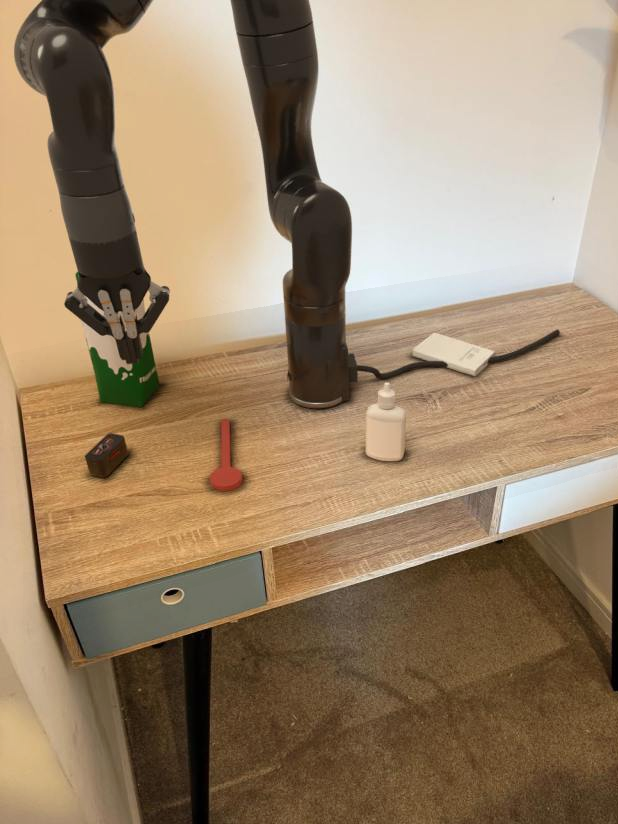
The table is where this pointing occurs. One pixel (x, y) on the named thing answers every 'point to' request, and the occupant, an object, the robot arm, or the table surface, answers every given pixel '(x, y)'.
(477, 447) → the table surface
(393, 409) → the eye dropper bottle
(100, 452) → the black gauge box
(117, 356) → the milk carton
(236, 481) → the spoon
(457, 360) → the hard drive
